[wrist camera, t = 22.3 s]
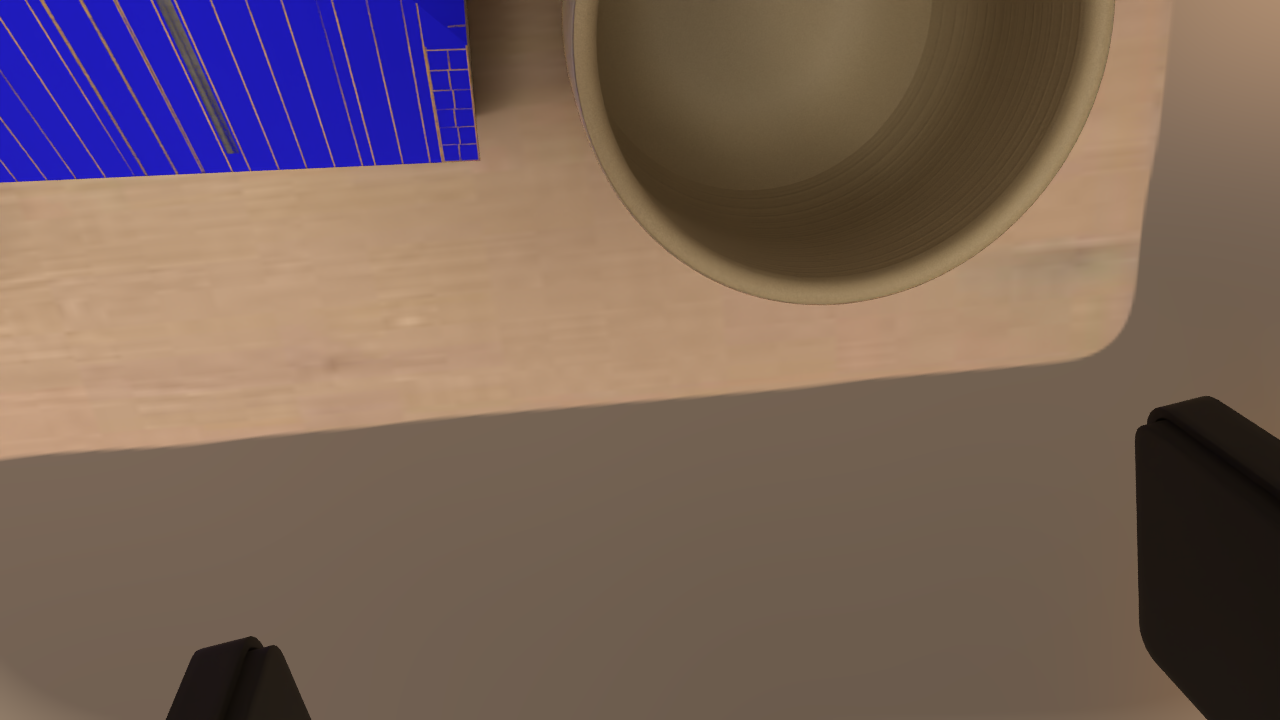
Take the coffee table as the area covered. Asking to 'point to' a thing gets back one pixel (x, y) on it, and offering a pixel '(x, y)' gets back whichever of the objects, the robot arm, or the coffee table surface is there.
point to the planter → (832, 129)
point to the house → (231, 86)
